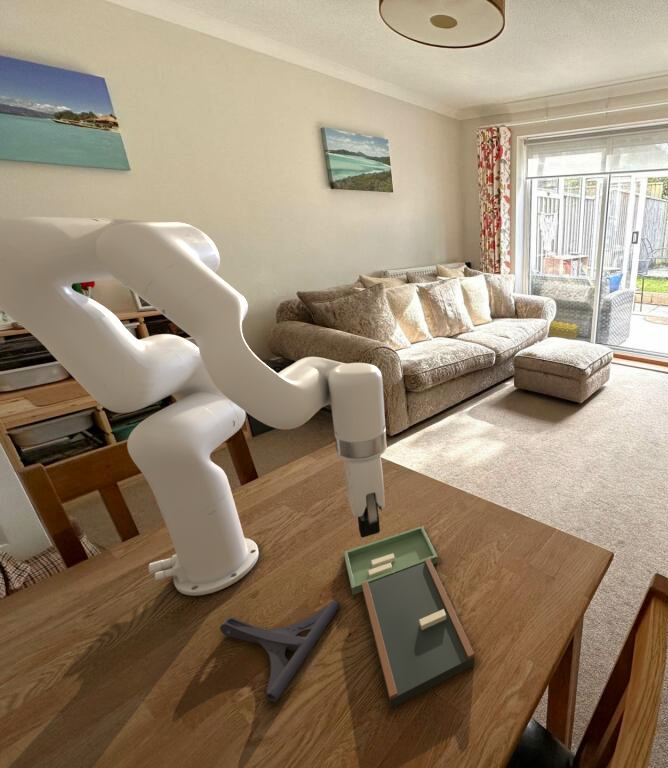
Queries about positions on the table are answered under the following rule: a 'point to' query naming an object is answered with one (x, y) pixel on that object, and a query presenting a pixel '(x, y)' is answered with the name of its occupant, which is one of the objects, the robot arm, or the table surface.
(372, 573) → the chalk
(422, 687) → the chalkboard
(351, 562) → the tray
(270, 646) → the bracket
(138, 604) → the table surface
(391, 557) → the chalk
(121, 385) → the robot arm
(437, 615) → the chalk
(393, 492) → the table surface
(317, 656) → the table surface
